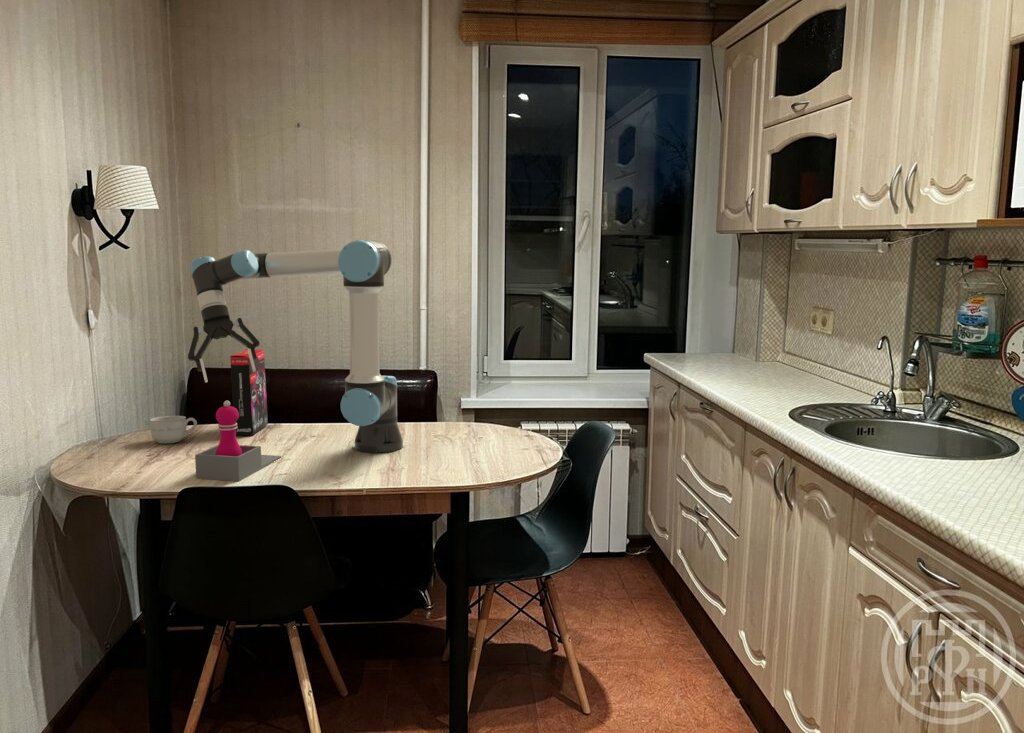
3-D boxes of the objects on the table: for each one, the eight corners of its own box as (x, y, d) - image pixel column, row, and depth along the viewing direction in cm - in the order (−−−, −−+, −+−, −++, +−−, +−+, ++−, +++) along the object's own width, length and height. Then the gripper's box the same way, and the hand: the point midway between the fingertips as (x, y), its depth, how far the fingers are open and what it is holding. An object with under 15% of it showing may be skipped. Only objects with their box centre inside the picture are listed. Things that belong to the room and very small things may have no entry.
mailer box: (281, 457, 242) (281, 436, 241) (239, 481, 217) (238, 457, 217) (242, 455, 244) (241, 434, 243) (196, 478, 220) (195, 454, 219)
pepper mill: (218, 476, 220) (215, 403, 217) (213, 469, 226) (210, 399, 223) (245, 473, 223) (242, 401, 220) (240, 466, 230) (238, 397, 227)
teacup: (145, 445, 254) (144, 421, 253) (158, 437, 265) (157, 413, 264) (190, 446, 255) (189, 421, 254) (201, 438, 266) (200, 414, 265)
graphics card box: (253, 436, 268) (250, 355, 265) (232, 436, 268) (229, 355, 264) (268, 425, 285) (266, 348, 281) (248, 425, 285) (246, 348, 281)
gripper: (256, 303, 248) (273, 369, 244) (170, 320, 239) (186, 388, 236) (256, 295, 241) (273, 363, 237) (167, 312, 232) (184, 382, 229)
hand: (230, 376), depth 236 cm, fingers open, 13 cm apart
